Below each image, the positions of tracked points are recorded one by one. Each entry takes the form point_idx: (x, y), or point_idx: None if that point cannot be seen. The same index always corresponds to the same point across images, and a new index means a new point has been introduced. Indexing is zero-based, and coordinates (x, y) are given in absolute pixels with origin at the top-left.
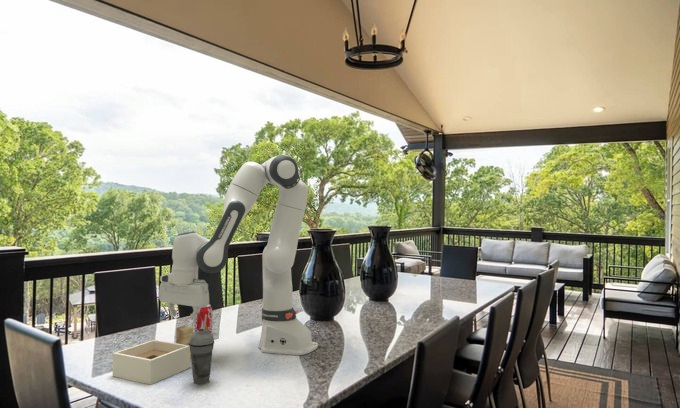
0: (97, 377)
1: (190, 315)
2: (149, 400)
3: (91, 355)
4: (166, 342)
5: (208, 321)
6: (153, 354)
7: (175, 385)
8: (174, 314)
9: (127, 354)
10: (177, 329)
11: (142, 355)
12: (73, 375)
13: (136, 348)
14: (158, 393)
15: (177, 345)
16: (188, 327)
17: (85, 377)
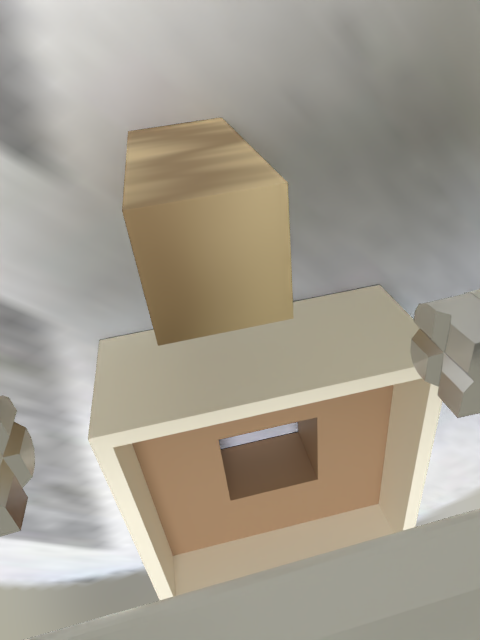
0: (126, 541)
1: (446, 399)
2: (447, 497)
3: None
4: (240, 416)
5: None
6: (209, 434)
7: (452, 418)
8: (10, 438)
9: (162, 544)
10: (175, 333)
11: (174, 471)
12: (26, 581)
13: (148, 526)
14: (440, 469)
15: (349, 389)
16: (261, 246)
17: (88, 562)
